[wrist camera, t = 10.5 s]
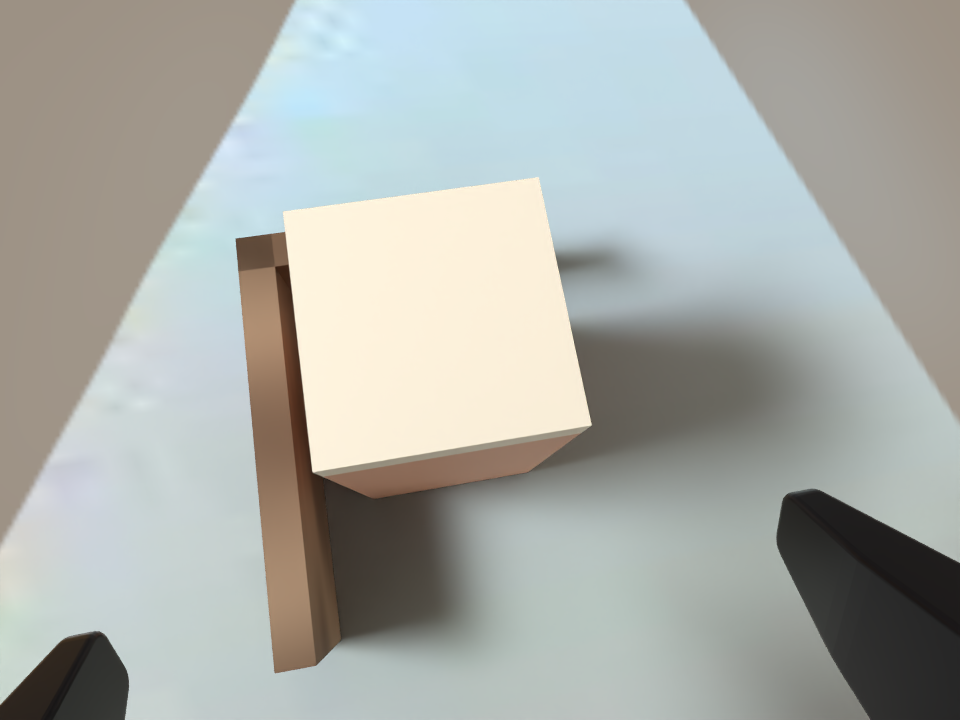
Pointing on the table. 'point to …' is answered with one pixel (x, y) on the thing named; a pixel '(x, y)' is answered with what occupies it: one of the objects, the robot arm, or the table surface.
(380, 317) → the pink tall block
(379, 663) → the table surface
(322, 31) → the table surface
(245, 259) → the walnut corner walls
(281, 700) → the table surface
